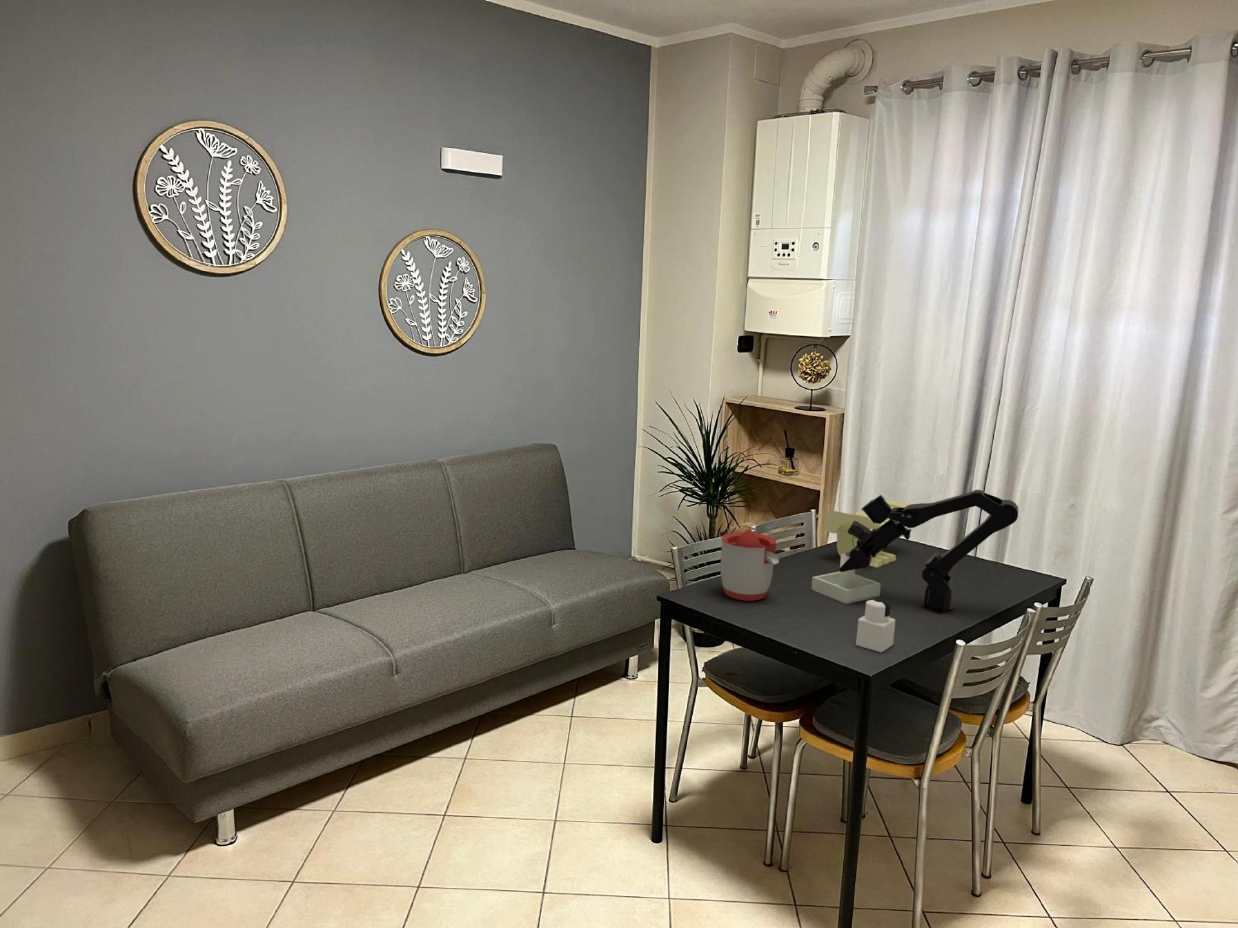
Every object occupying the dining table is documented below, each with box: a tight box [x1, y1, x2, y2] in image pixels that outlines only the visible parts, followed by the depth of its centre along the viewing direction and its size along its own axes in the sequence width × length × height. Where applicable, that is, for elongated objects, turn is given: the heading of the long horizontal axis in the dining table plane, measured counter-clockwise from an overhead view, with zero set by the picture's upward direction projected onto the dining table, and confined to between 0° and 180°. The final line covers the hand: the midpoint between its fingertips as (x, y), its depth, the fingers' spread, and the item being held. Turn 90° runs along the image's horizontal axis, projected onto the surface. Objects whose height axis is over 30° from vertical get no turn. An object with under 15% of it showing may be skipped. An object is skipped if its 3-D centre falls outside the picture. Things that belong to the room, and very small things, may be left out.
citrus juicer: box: [720, 528, 780, 602], centre depth 268 cm, size 16×17×20 cm
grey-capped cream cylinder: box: [838, 551, 856, 589], centre depth 274 cm, size 4×4×12 cm
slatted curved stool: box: [822, 498, 911, 568], centre depth 311 cm, size 30×16×18 cm, turn 136°
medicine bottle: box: [855, 597, 896, 653], centre depth 235 cm, size 7×7×12 cm
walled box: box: [811, 571, 882, 605], centre depth 275 cm, size 14×14×4 cm
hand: (842, 566), depth 275 cm, fingers open, 9 cm apart
